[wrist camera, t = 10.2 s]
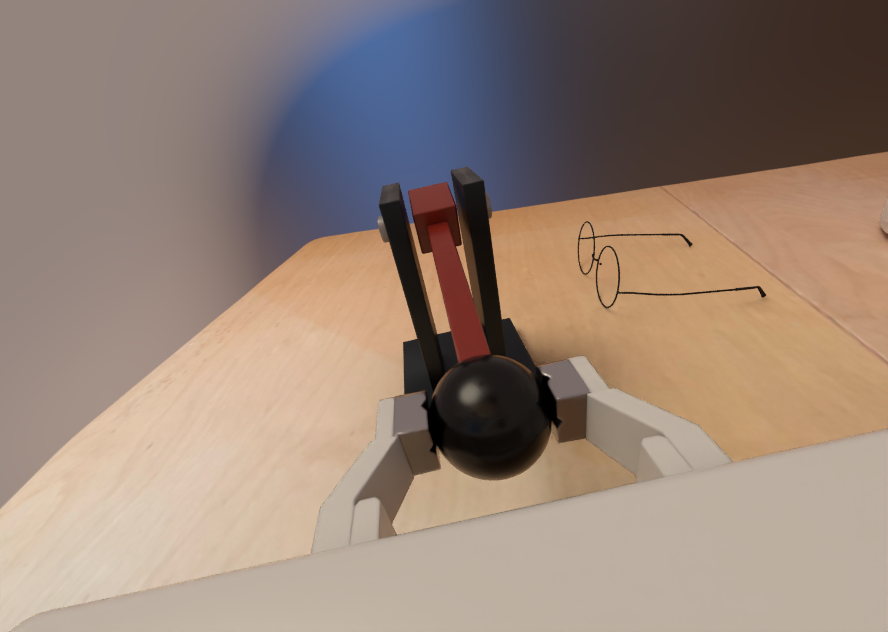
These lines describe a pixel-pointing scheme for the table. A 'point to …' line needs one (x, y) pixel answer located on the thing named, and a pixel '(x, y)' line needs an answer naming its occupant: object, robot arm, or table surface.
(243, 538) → the table surface
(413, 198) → the lever
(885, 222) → the vase
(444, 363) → the bracket
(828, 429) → the table surface
